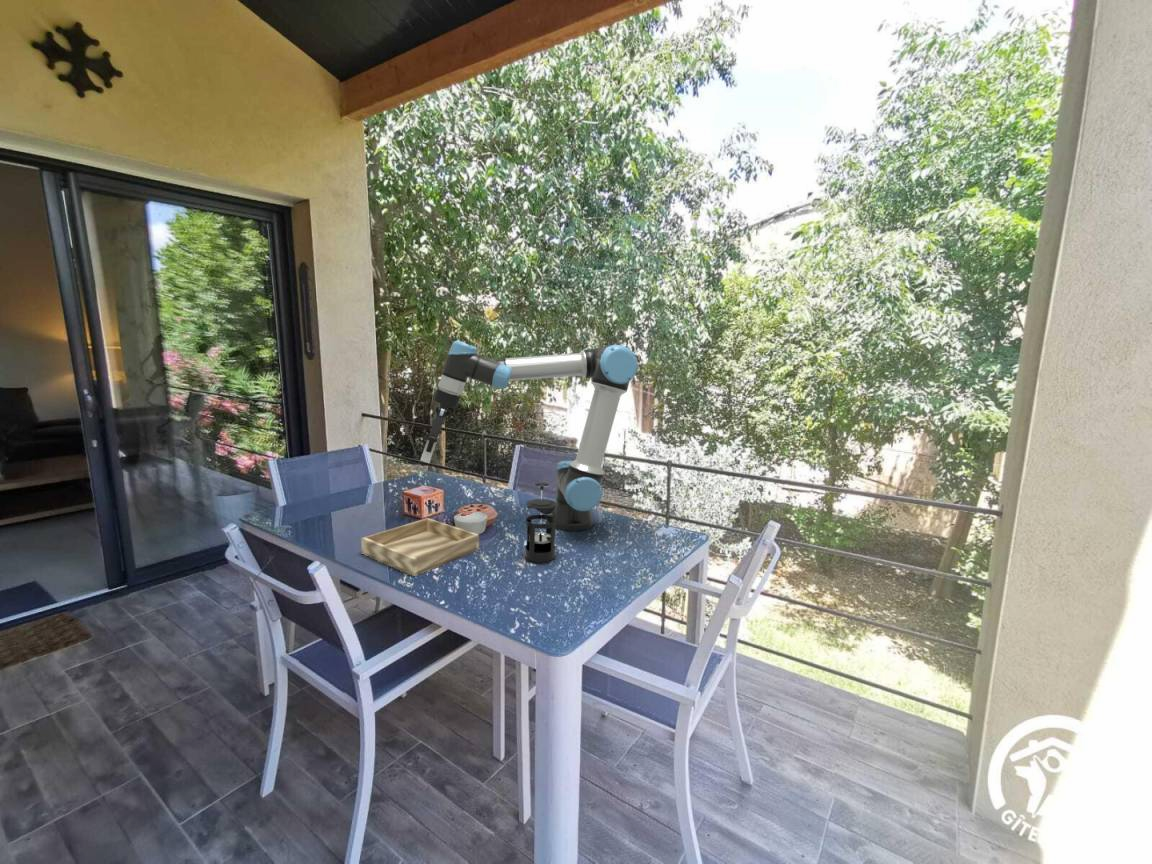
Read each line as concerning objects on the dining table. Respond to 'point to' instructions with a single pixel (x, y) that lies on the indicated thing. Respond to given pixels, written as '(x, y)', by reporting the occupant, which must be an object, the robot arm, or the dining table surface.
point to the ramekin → (471, 522)
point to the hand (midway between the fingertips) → (426, 456)
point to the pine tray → (420, 545)
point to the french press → (540, 539)
